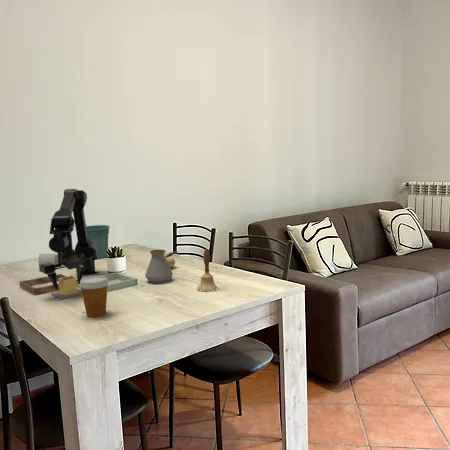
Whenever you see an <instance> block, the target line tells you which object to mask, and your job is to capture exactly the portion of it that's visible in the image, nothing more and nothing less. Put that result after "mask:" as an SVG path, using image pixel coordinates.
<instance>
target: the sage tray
mask: <svg viewBox="0 0 450 450" xmlns="http://www.w3.org/2000/svg"><path fill="white" fill-rule="evenodd" d="M101 276H103V277H106V278H107V280H108V281H112V280H119V281H118V282H115V283H108V285H107V293H108V292H112V291H115V290H120V289H124V288H128V287H129V286H130V287H133V285H134V286H137V285H138V278H136V277H133V276H129V275H126V274H122V273H120V272H112V273H108V274H103V275H101Z"/></svg>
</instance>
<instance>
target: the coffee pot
mask: <svg viewBox="0 0 450 450" xmlns="http://www.w3.org/2000/svg"><path fill="white" fill-rule="evenodd" d="M149 253H150V254H151V258H150V260H149V263H148V266H147V269H146V271H145V275H144V276H145V278H146V279H147V281H149V282H150V283H152V284H163V283H168V282H169V281H170V280H171V279H172V278H173V275H174V273H173V271H172V268H170V266H169V264H168V262H167V260H166V258H167V257H170V256H172V257H173V256H176V257H178V256H179V254H178V255H176V254H177V253H179V251H178V250H174V251H172V252H170V253H167V254H168V255H166V256H164V254H166V250H165V249H153V250H150V251H149Z"/></svg>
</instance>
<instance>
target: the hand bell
mask: <svg viewBox="0 0 450 450" xmlns="http://www.w3.org/2000/svg"><path fill="white" fill-rule="evenodd" d="M202 258H203V263H204V274H202V275H201V277H200V282H199V285H198V286H197V287H196V290H197V289H198V290H201V291H211V292H213V291H212V290H216V289H217V288H218V289H219V287H218V286H217V285H216V283H215V281H214V276H213V275H212V273H210V261H211V255H210V251H209V249H208V248H205V249H204V251H203V257H202ZM218 289H217V290H218ZM198 290H197V291H198ZM217 290H216V291H217ZM201 291H200V292H201Z"/></svg>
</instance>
